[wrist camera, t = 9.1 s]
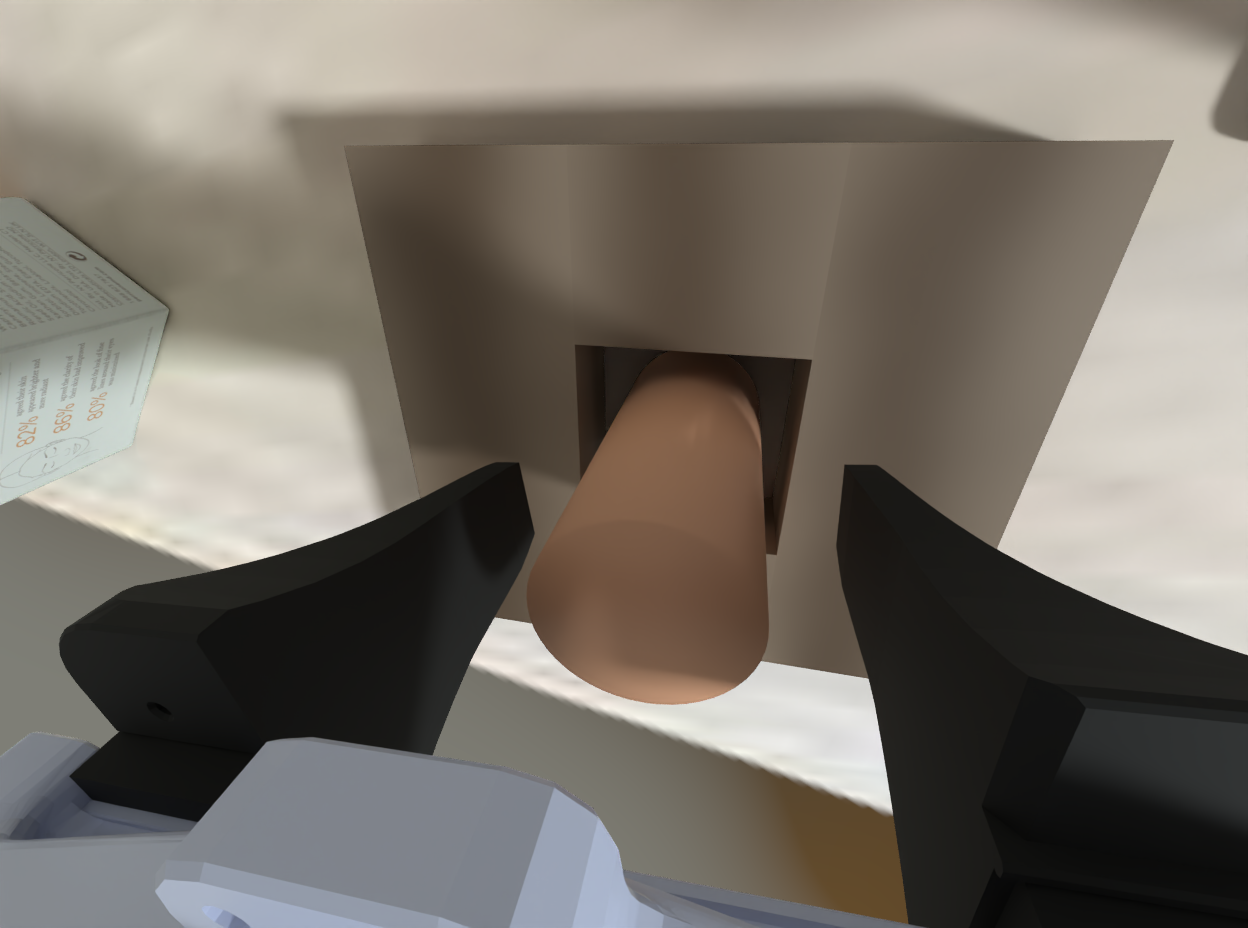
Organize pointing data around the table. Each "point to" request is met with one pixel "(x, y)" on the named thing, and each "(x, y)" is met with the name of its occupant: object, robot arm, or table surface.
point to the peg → (664, 542)
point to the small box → (66, 352)
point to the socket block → (752, 315)
